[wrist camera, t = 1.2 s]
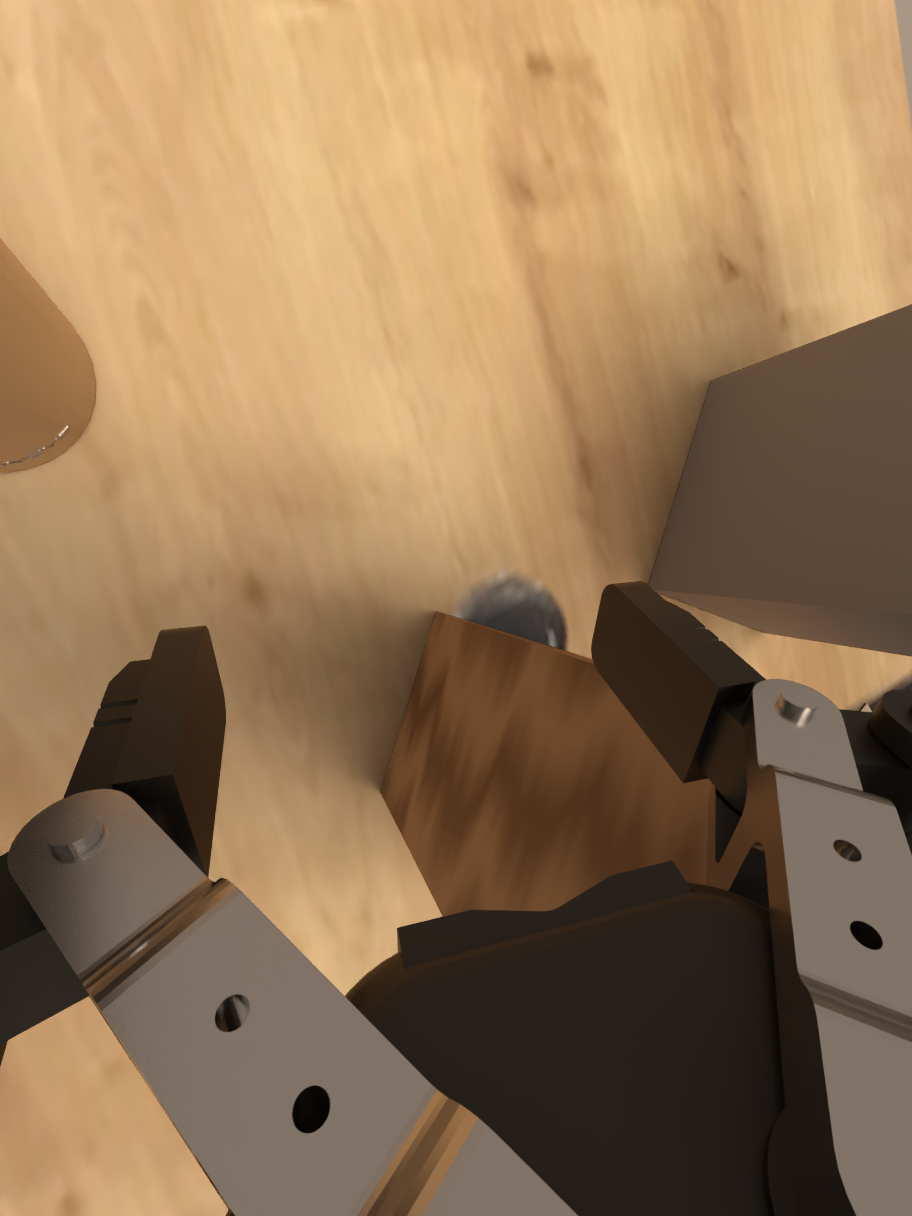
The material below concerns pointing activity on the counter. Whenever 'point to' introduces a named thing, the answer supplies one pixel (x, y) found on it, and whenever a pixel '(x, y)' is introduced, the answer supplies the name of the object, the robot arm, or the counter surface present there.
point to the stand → (803, 494)
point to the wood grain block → (530, 777)
